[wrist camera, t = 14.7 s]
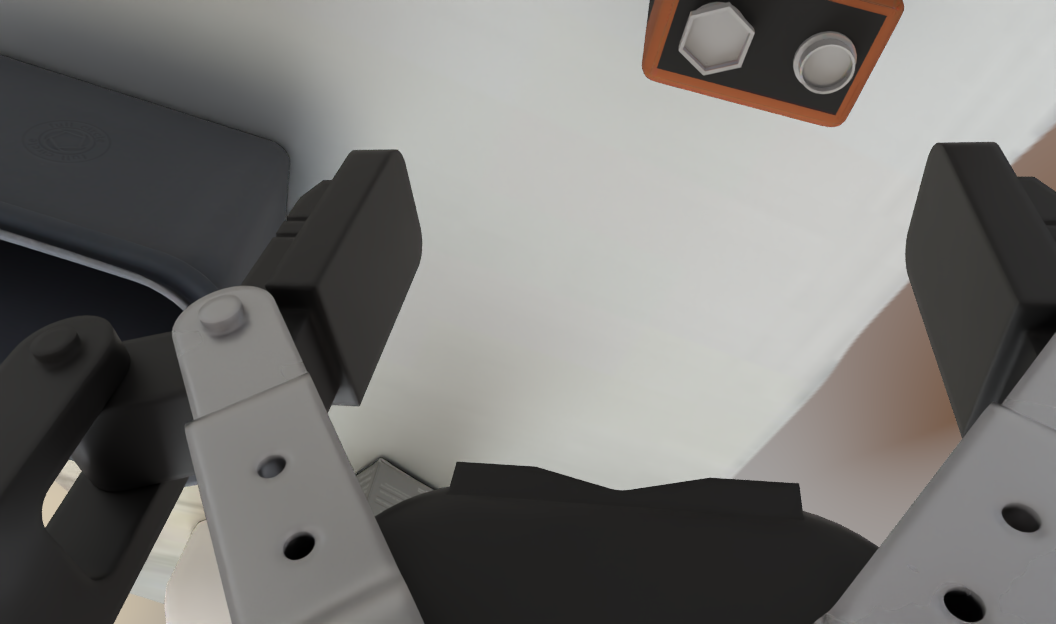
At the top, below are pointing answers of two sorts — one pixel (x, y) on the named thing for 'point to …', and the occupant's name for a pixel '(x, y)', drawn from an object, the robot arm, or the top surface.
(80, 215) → the storage bin
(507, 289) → the top surface
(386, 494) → the cosmetic box
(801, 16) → the battery
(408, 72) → the top surface
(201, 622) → the teardrop
